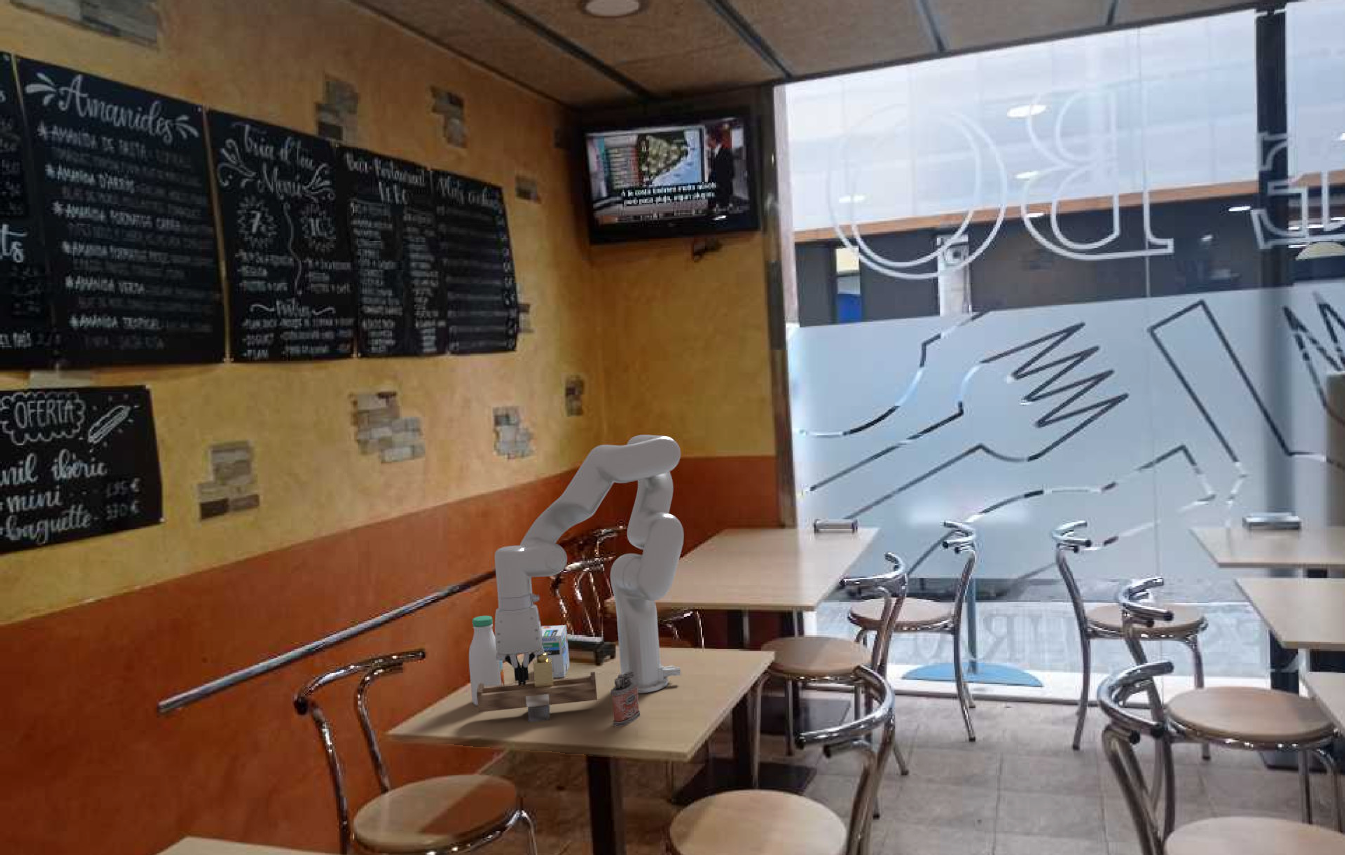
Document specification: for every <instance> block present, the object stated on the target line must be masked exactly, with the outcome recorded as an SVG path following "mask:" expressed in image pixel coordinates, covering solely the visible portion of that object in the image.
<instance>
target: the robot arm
mask: <svg viewBox="0 0 1345 855" xmlns="http://www.w3.org/2000/svg"><path fill="white" fill-rule="evenodd" d="M681 452H682V451H681V448H680V445H679V444H678V443H677V441H675V440H674V439H673V438H671V437H670V436H667V435H666V436H665V435H656V434H655V435H653V434H639V435H635V436H633V437H631V438H630V439H629V440H628V442H627V444H624V445H615V444H614V445H612V444H601V445H597V446H596V447H594V448H593V449H591V451H590V452H589V453H588V455H587V456H586V457H585V460H584V461H583V462H582V464H581V465H580V467H579V468H578V470H577V472H576V474H575V475H574V476H573V478H572V480H570V482H569V484H568V485H567V487H566V488H565V490H564V492H563V493H562V494H561V495H560V496H559V497H558V498H557V499H556V500H555V501H554V502H552V503H551V504H550V505H549V506H548V507H547V508H546V509H545V510H544V511H543V512H542V513H540V515H538V517H537V518H536V519H535V520H534V522H533V523H532V524H531V526H530V527H529V529H528V530H527V532H526V533H525V535H524V537H523V538H522V540H521V542H520V544H519V545H508V546H503V547H500V548H497V550H495V552H494V564H495V578H496V589H497V601H498V607H497V608H496V609H495V616H494V617H495V620H494V636H495V643H496V651H497V652H496V660H502V661H503V662H504V661H505V662H506V663H508V664H509V665H510V666H512V668H513V672H514V681H515V682H517V683H518V686H520V685H526V682H527V681H528V680H530V677H529V675H530V674H529V666H530V664H531V663H532V662H533V661H534V660H535V658H536V659H537V655H543V654H544V649H543V646H542V632H541V627H542V625H541V619H540V614H539V609H538V606H537V605H536V604H535V603H537V602H539V601H540V595H539V594H537V595H536V594H534V593H533V587H532V586H533V585H532V578H534V577H551V576H556V575H558V574H559V573H561V572H562V571H563V570H564V569H565V567H566V566H567V562H568V556H567V555H568V554H567V553H566V551H565V549H564V548H563V547H562V546H561V545H560V544H558V543H557V541H558V540H559V539H560V538H561V536H563V535H564V533H566V532H567V531H568V530H569V529H570V528H572V527H574V526H576V525H577V524H580V523H582V522H584V521H587V519H590V518H591V517H592V516H594V514H595V513H596V512H597V510H598V508H599V507H600V505H601V503H602V501H603V500H604V499H605V497H606V496H607V494H608V492H610V490H611V488H612V486H613V484H614V483H617V484H627V483H631V482H636V481H637V492H636V496H635V500H634V504H633V507H632V511H631V515H630V519H629V522H628V526H627V531H626V535H627V537H626V538H627V541H629V543H630V544H631V545H632V546H634V547H635V548H637V549H639V550H643V551H642V554H638V553H625V554H622V555H620V556H619V557H618V558H617V559H616V560H614V562H613V564H612V565H611V568H610V574H609V576H610V584H611V589H612V592H613V598H614V603H615V612H616V618H617V619H616V622H617V633H618V634H617V636H618V650H619V664H620V674H621V675H624V674H625V673H627V672H629V671H633V672H634V677H633V678H631V679H630V680H635V681H637V682H638V686H637V692H638V694H646V693H652V692H656V691H659V690H661V689H664V688H666V687H667V686H668V684H669V677H671V676H673V677H675V676H676V677H677V676H681V675H682V674H681V667H680V666H678V667H675V665H669V666H665V665H663V664H662V662H661V656H660V642H659V626H658V611H657V605H656V601H658V600H660V599H662V598H664V597H665V596H666V595H667V594H668V592H669V591H670V589H671V587H672V585H673V582H674V580H675V579H674V578H675V575H676V572H677V568H678V565H679V564H678V563H679V560H680V556H681V554H682V550H683V547H684V539H685V538H684V537H685V536H684V535H685V533H684V527H683V525H682V523H681V521H680V520H679V519H678V518H677V517H676V515H673V514H671V513H670V509H671V504H672V500H673V495H674V494H673V493H674V482H673V479H672V478H673V477H672V474H671V471H673V470H674V469H675V468H676V467H677V465H678V464H679V463H680V459H681V454H682V453H681ZM522 654H523V659H522V662H521V663H520V661H519V658H518V655H522Z"/></svg>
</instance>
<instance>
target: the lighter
mask: <svg viewBox="0 0 1345 855" xmlns="http://www.w3.org/2000/svg"><path fill="white" fill-rule="evenodd" d="M633 677H634V672H633V671H629V672H627V673H625V674H624V675H621V673H620V674H618V675H617V678H615V679H614V685H615V686H614V687H613V688H612V689H610V695H611V697H612V698H611V700H612V713H613V714H612V715H613V720H612V725H613V726H614V727H623V726H626V725H627V724H630V723H632V722H634V721H635V720H637V719H638V718H639V717H641V711H640V707H639V693H638V692H637V686H638V682H637V681H635V680H630V679H631V678H633Z"/></svg>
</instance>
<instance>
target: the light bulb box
mask: <svg viewBox="0 0 1345 855" xmlns="http://www.w3.org/2000/svg"><path fill="white" fill-rule="evenodd" d="M541 632H542V646H543V649H544V652H546V653H547V657H548V659H549V658H552V671H553V679H554V678H556V679H559V678H565V677H566V675H567V672H568V669H569V668H570V655H569V643H568V631H567V625H566V624H564V625H563V624H562V625H560V624H559V625H541Z"/></svg>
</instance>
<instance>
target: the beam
mask: <svg viewBox="0 0 1345 855" xmlns="http://www.w3.org/2000/svg"><path fill="white" fill-rule="evenodd" d="M553 683H554V686H551V687H542V688H535V681H529V682H527V681H526V685H520V686H518V682H517V683H508V684H505V685H496V686H486V687H484V683H481V684H479V686H478V689H477V701H478V706H477V710H478V713H485V712H486V713H487V712H494V711H495V712H496V711H504V710H505V711H506V710H516V709H522V708H525V709H526V708H527V714H528V722H529V723H532V722H542V721H550V710H551V709H550V706H552V705H553V706H554V705H561V704H563V705H564V704H570V703H571V704H572V703H579V702H589V701H590V702H591V701H598V696H597V694H598V691H597V681H596V672H595V671H590V675H586V676H576V677H575V676H574V677H568V678H567V677H566V678H565V677H563V678H556V679H553Z"/></svg>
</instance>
